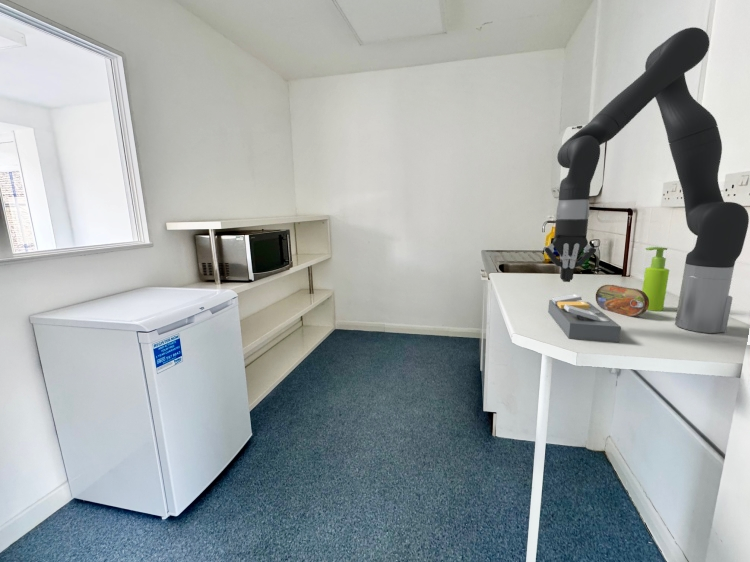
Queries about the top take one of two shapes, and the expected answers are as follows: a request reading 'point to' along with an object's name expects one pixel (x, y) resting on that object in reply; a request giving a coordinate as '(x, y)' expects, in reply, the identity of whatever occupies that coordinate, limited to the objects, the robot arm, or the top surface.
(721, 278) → the robot arm
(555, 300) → the rocker
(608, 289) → the tin
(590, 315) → the rocker
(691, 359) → the top surface
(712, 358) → the top surface
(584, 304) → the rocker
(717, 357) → the top surface
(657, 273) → the soap dispenser
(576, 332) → the rocker switch panel
